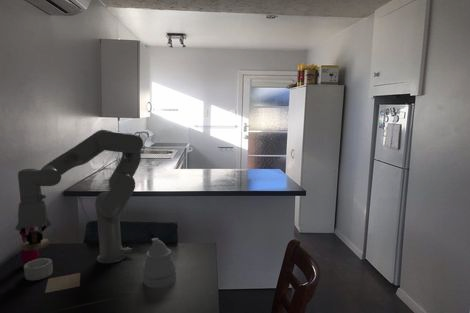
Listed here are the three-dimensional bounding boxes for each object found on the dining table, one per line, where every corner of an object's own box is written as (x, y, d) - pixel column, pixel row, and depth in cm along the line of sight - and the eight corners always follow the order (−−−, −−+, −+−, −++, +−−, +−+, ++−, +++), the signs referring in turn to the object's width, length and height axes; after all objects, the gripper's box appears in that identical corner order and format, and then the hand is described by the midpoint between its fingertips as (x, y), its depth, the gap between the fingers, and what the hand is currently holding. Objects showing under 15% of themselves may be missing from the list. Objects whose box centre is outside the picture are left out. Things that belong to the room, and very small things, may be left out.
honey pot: (165, 290, 132) (163, 245, 130) (137, 285, 137) (134, 241, 134) (181, 275, 144) (180, 233, 142) (155, 270, 149) (153, 230, 146)
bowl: (53, 268, 152) (52, 256, 152) (51, 278, 143) (50, 265, 142) (27, 272, 148) (26, 260, 148) (23, 283, 139) (22, 270, 139)
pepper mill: (31, 268, 153) (26, 225, 150) (17, 267, 154) (12, 224, 151) (43, 261, 160) (39, 219, 157) (30, 260, 161) (25, 219, 158)
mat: (80, 274, 146) (80, 272, 146) (79, 287, 135) (79, 286, 135) (48, 280, 142) (48, 278, 142) (45, 294, 131) (44, 292, 131)
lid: (50, 239, 150) (49, 225, 149) (47, 248, 141) (46, 233, 140) (23, 243, 146) (22, 229, 146) (19, 252, 137) (17, 237, 136)
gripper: (54, 195, 148) (57, 236, 150) (9, 199, 142) (14, 242, 144) (52, 199, 141) (56, 242, 143) (5, 203, 135) (10, 248, 137)
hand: (35, 242), depth 144 cm, fingers closed on lid, 2 cm apart
